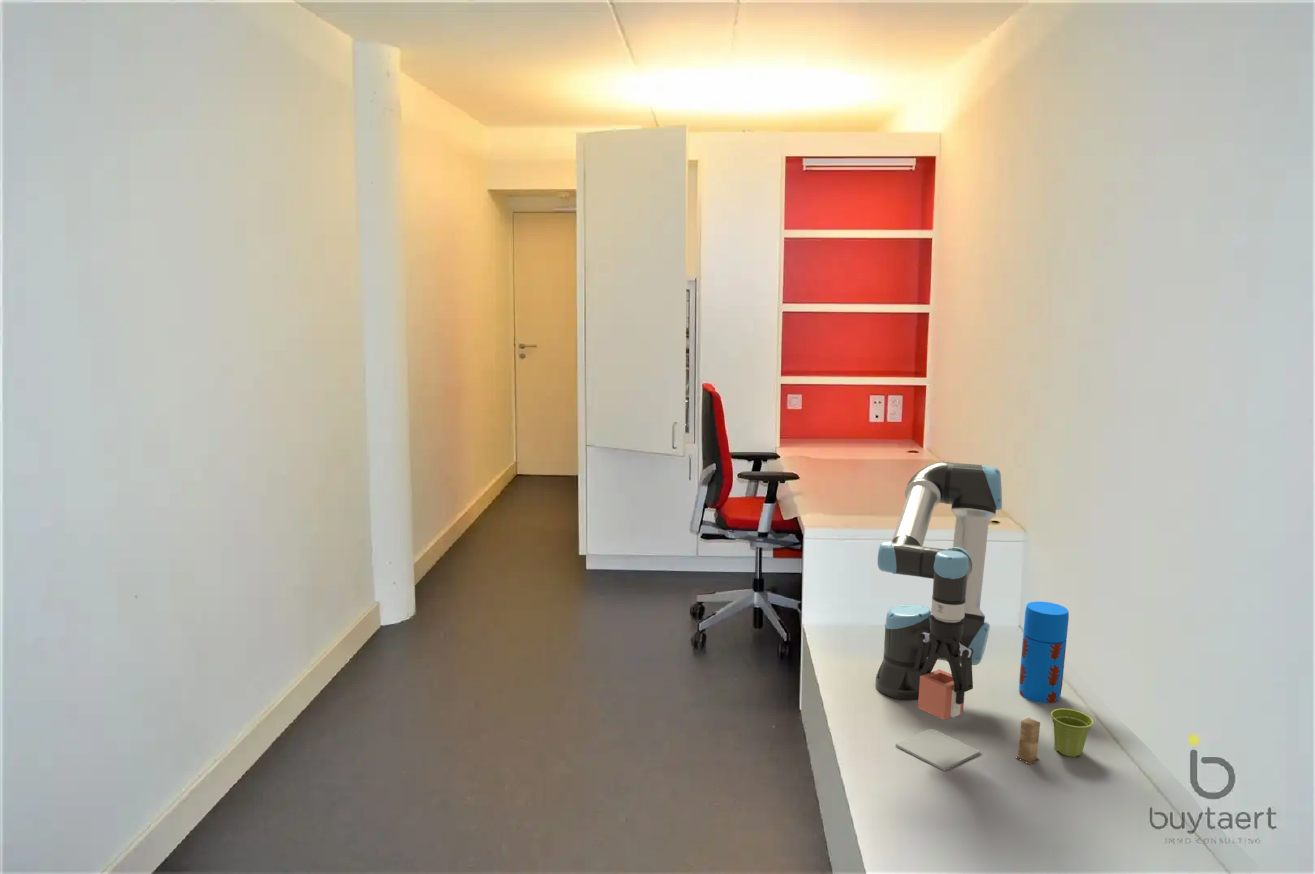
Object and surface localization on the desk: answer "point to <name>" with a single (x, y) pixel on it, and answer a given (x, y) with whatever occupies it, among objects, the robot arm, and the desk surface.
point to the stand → (1029, 740)
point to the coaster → (938, 749)
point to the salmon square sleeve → (937, 693)
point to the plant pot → (1070, 731)
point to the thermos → (1043, 652)
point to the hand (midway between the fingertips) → (940, 708)
